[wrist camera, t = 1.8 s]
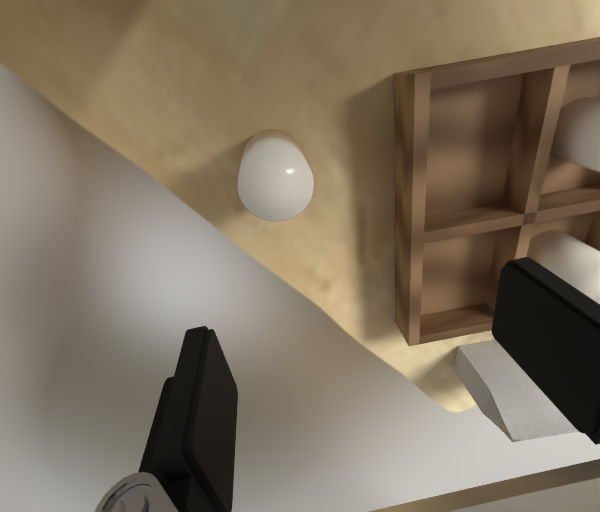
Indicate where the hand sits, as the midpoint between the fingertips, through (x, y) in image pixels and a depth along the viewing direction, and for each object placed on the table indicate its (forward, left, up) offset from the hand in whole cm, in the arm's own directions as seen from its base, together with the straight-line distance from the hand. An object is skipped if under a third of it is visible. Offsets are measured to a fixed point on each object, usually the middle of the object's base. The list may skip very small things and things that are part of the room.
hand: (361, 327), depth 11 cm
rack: (+6, +17, -18) cm, 25 cm away
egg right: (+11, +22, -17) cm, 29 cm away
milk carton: (+25, +18, -18) cm, 35 cm away
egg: (-1, -2, -18) cm, 18 cm away
